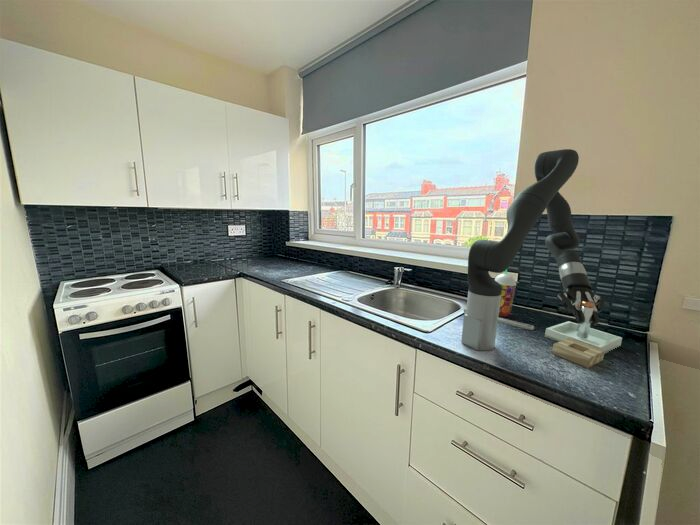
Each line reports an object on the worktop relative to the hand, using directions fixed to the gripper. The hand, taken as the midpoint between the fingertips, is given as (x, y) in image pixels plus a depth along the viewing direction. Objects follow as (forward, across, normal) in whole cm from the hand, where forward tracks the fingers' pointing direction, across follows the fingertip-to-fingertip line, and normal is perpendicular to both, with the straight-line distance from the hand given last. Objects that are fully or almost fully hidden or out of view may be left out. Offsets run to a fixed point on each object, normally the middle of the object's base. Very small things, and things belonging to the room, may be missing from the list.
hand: (588, 323), depth 90 cm
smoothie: (-11, -19, +21) cm, 30 cm away
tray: (+4, 0, +6) cm, 8 cm away
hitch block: (+12, -7, -2) cm, 14 cm away
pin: (+2, 0, +5) cm, 6 cm away
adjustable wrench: (-4, -23, +16) cm, 28 cm away
